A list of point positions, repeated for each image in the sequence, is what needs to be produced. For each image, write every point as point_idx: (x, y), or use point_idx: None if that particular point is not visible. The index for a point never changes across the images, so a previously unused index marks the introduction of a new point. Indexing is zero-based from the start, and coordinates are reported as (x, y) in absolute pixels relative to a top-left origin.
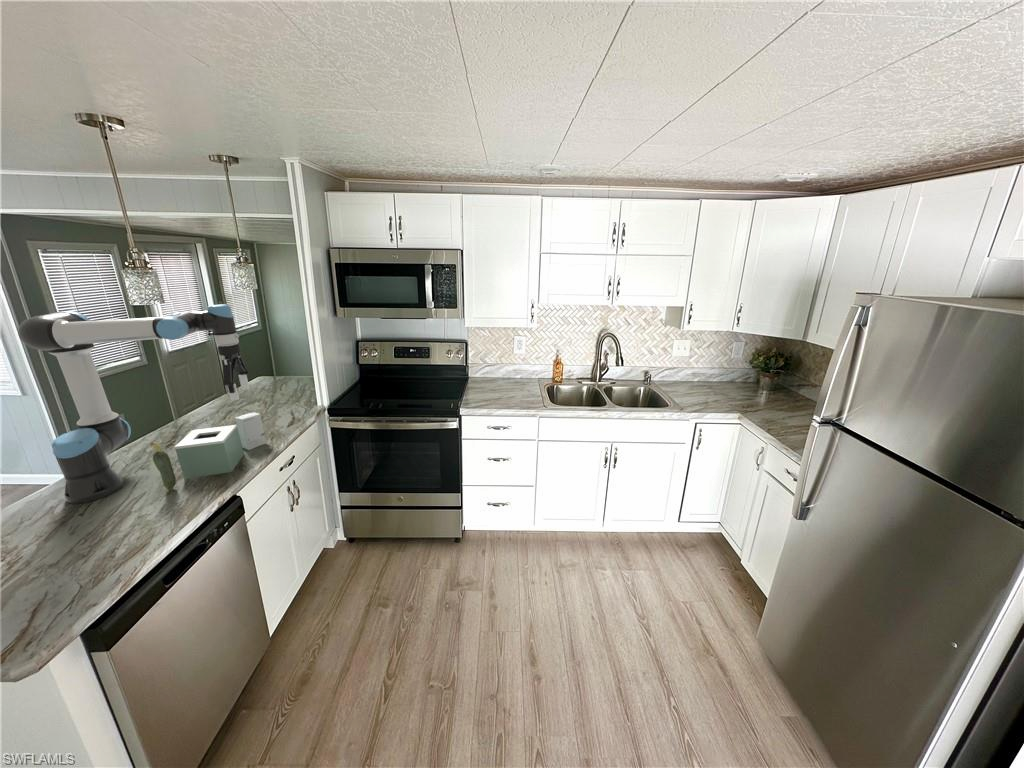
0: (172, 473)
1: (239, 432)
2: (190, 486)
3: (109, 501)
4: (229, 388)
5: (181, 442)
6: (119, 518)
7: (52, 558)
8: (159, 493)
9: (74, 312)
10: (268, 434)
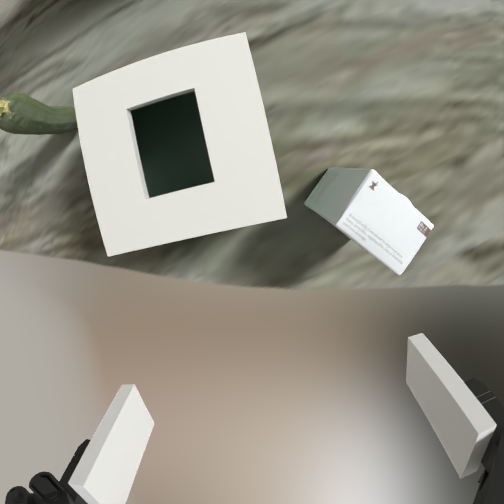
0: (49, 133)
1: (342, 175)
2: None
3: (61, 21)
4: (70, 473)
5: (106, 82)
6: None
7: None
8: (69, 102)
9: None
10: (422, 212)
